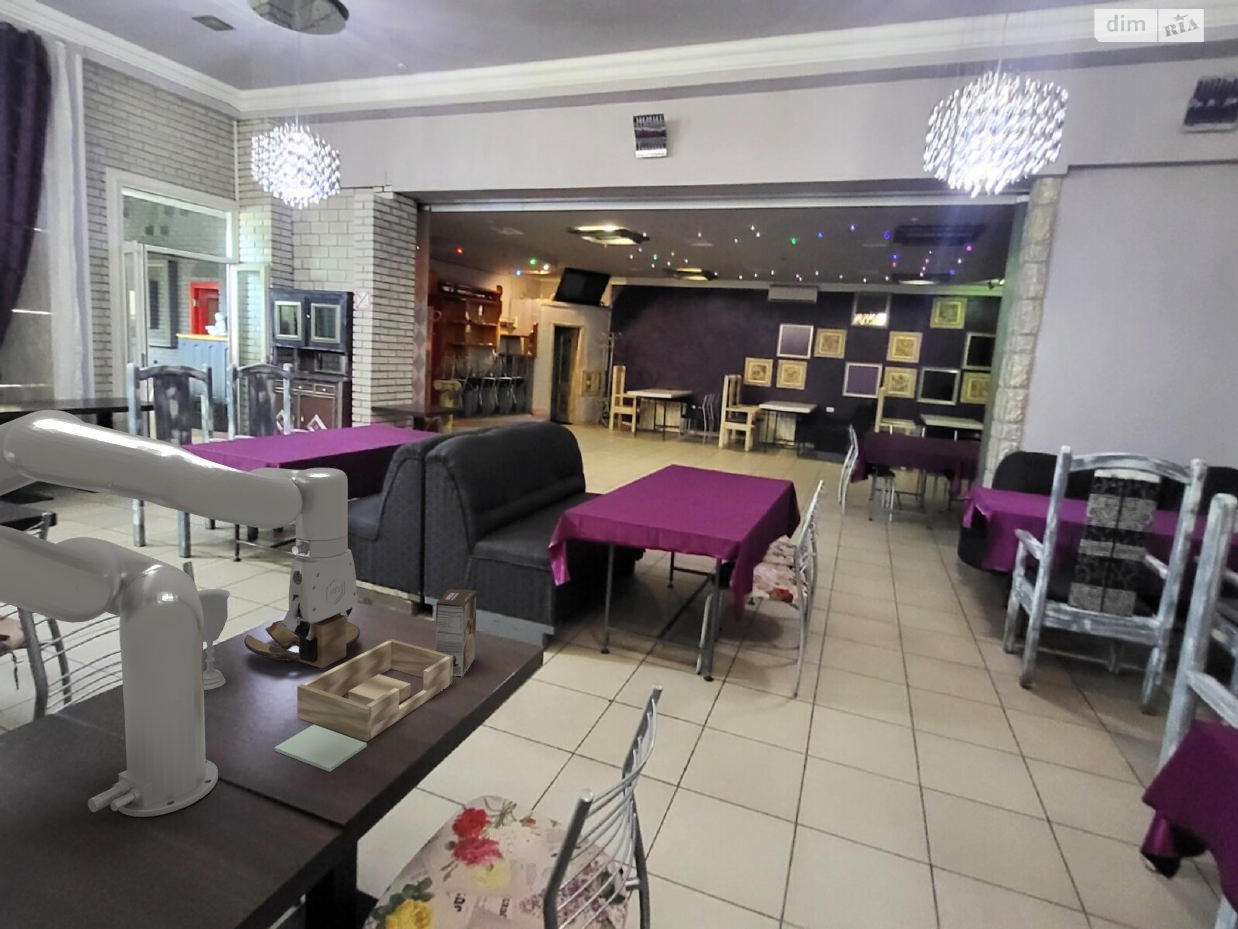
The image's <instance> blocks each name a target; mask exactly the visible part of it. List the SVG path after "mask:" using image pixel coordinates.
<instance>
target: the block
mask: <svg viewBox="0 0 1238 929" xmlns="http://www.w3.org/2000/svg"><path fill="white" fill-rule="evenodd" d="M305 628H306V629H307V628H308V623H307V622H306V625H305ZM314 637H315V638H317V661H316V662H314V663H312V662H309V661H306V660H302V659H300V656H299V660H298V662H300V663H304V664H306V665H307V664H308V665H310V666H314V667H317V668H321V669H323V668H326V667H328V666H329V665H331V664H333V663H336V662H338V661H340V660H341V659H343V658H345V657H347V647H346V616H345V615H340V614H337V615H335V616H332V617H330V618H327V619H325V620H322V621H320V622H317V625H316V629H315V634H314Z"/></svg>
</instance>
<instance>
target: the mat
mask: <svg viewBox="0 0 1238 929" xmlns="http://www.w3.org/2000/svg"><path fill="white" fill-rule="evenodd" d="M367 747H368V743H367V742H366V741H363V740H360V739H357V738H354V737H351V736H348V735H346V734H343V733H340V732H337V731H334V730H331V729H329V728H326V727H323V726H320V725H317V724H312V725H310V726H309V727H307V728H305V729H304V730H302V731H300V732H298V733H297V734H295V735H293V736H291V737H290V738H288V739H286V740H285V741H283V742H281V743H280V744H278V745H276V746H274V748H273V749H274V751H275V752H277V753H280V754H282V755H285V756H287V757H290V758H293V759H295V760H298V761H299V762H303V763H304V764H308V765H311V766H313V767H316V768H318V769H322V770H324V771H326V772H332V771H333V770H335V769H336V768H337V767H339V766H340V765H342V764H344V763H345V762H346V761H348V760H349V759H351V758H352V757H353V756H355V755H357V754H358V753H359V752H361V751H362V750H364V749H366V748H367Z"/></svg>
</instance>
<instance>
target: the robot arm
mask: <svg viewBox="0 0 1238 929" xmlns="http://www.w3.org/2000/svg"><path fill="white" fill-rule="evenodd" d="M38 481H39V482H43V483H47V484H53V485H58V486H63V487H69V488H74V489H80V490H85V491H90V492H96V493H100V494H101V493H102V494H106V495H112V496H117V497H124V498H127V499H128V498H129V499H132V500H133V499H134V500H138V501H144V502H147V503H148V502H149V503H151V504H155V505H158V506H161V507H164V508H167V509H170V510H171V509H172V510H176V511H179V512H184V513H186V514H187V513H188V514H191V515H194V516H197V517H202V518H206V519H209V520H214V521H219V522H223V523H228V524H234V525H239V526H240V525H241V526H246V527H249V528H250V527H251V528H257V529H265V530H272V529H280V528H284V527H286V526H289V524H292V523H293V522H294V521H295V545H294V546H292V548H291V552H292V554H294V555H295V557H293V561H292V565H291V569H290V570H291V571H290V577H289V586H288V610H287V613H286V615H285V616H284V618H283V621H282V623H281V626H282V627H283V628H286V629H288V630H290V631H291V632H293V633H294V634H295V635H296V636H297V637H299V646H298V653H299V656H300V659H302V660H306V661H309V662H312V663H314V662H316V661H317V638H315V637H314V634H315V629H316V625H317V622H320V621H322V620H325V619H327V618H330V617H332V616H335V615H337V614H340V615H345V616H346V624H347V623H348V622H349V616H350V614H351V612H353V608H354V607H355V605H356V604H357V602H358V601H359V599H360V596H359V595H358V593H357V575H356V574H357V573H356V568H355V567H356V566H355V562H354V558H353V557H354V556H353V554H352V550H351V549H349V548H348V547H349V546H348V544H349V543H348V541H349V540H348V538H349V537H348V536H349V535H348V528H349V527H348V523H349V522H348V517H349V515H348V510H349V509H348V508H349V507H348V506H349V505H348V504H349V502H348V499H349V498H348V496H349V494H348V493H349V491H348V490H349V489H348V488H349V486H348V485H349V484H348V482H349V481H348V475H347V474H346V473H345V472H344V471H343V470H341V469H338V468H331V467H313V468H307V469H289V468H278V467H258V468H254V469H252V470H249V471H246V470H242V469H238V468H234V467H231V466H227V465H224V464H219V463H217V462H213V461H211V460H208V459H205V458H204V457H202V456H201V457H200V456H199V455H196V454H194V453H192V452H191V451H189V450H186V449H185V448H183V447H181V446H179V445H177V444H175V443H170V442H168V441H166V440H162V439H161V440H160V439H158V438H152V437H148V436H144V435H138V434H134V433H130V432H125V431H122V430H117V429H114V428H110V427H104V426H102V425H98V424H93V423H88V422H85V421H83V420H82V419H80V417H78V416H76V415H74V414H72V413H69V412H67V411H64V410H58V409H41V410H37V411H34V412H33V411H32V412H30V413H28V414H25V415H23V416H20V417H18V418H15V419H13V420H9V421H8V422H5V423H2V424H0V496H3V495H5V494H8V493H11V492H12V491H16V490H18V489H21V488H23V487H25V486H28V485H30V484H33V483H35V482H38ZM198 591H199V590H198V588H197V585H196V583H195V581H194V580H193V578H192V577H191V576H190V575H189V574H188V573H187V572H185V571H184V570H182V569H180V568H179V567H176V566H175V565H171V564H169V563H167V562H164V561H161V560H159V559H156V558H154V557H151V556H148V555H146V554H143V553H141V552H138V551H136V550H132V549H129V548H127V547H125V546H122V545H119V544H117V543H113V542H112V541H109V540H105V539H101V538H96V537H91V536H90V537H88V536H81V537H80V536H78V537H72V538H67V539H64V540H61V541H58V542H57V543H54V542H52V541H49V540H46V539H43V538H40V537H37V536H35V535H32V534H30V533H28V532H26V531H23V530H20V529H16V528H13V527H9V526H4V525H1V524H0V603H2V604H6V605H9V606H12V607H15V608H19V609H22V610H25V611H28V612H31V613H34V614H38V615H41V616H44V617H47V618H50V619H54V620H56V621H59V622H65V623H72V624H73V623H84V622H89V621H92V620H95V619H97V618H99V617H100V616H102V615H104V614H105V613H107V614H111V615H114V616H117V617H119V646H120V660H121V673H122V674H121V678H122V696H123V711H124V713H123V714H124V732H125V737H124V738H125V754H126V770H123V771H122V772H120V773H118V782H116V783H114V784H112V787H111V788H110V789H108V790H106V791H103V792H101V793H99V794H97V795H95V796H93V797H91V798H90V799H88V801H87V806H88V809H89V811H90V812H92V813H96V812H98V811H100V810H102V809H103V808H106V807H108V806H110V808H111V810H112V811H113V812H116V811H118V812H120V813H121V814H123V815H127V816H129V817H135V818H136V817H139V818H140V817H142V818H144V817H145V818H146V817H155V816H162V815H165V814H166V815H167V814H169V813H173V812H176V811H179V810H181V809H185V808H186V807H188V806H191V805H193V804H195V803H196V802H197V801H199V800H201V799H202V798H203V797H205V796H206V795H208V793H210V792H211V791H212V790H213V788H215V785H216V784H217V782H218V779H219V770H218V766H217V765H216V764H215V763H214V762H212V761H211V760H208V759H206V728H205V727H206V724H205V723H206V722H205V720H206V718H205V717H206V716H205V690H204V684H203V672H204V642H203V638H204V618H203V610H202V605H201V601H200V598H199V595H198ZM297 618H298V623H296V620H297ZM306 622H307V623H308V628H307V629H306V628H305V625H306Z"/></svg>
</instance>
